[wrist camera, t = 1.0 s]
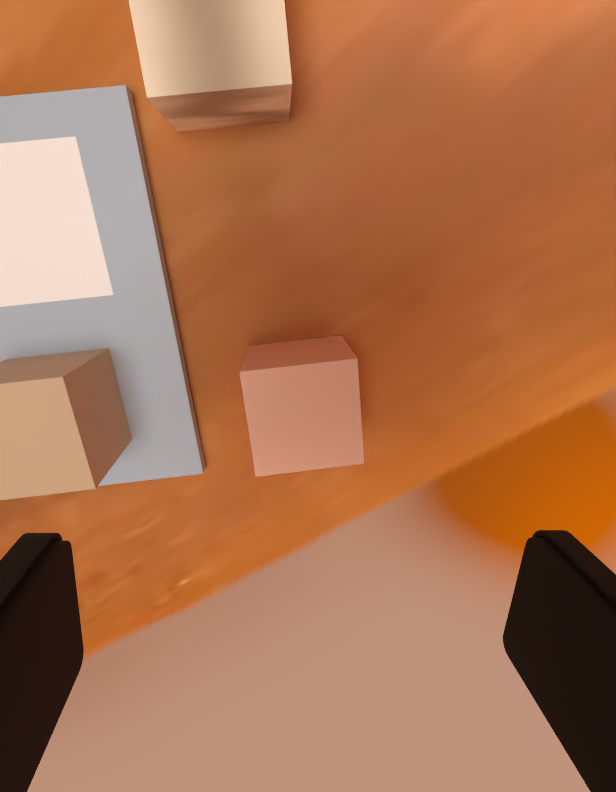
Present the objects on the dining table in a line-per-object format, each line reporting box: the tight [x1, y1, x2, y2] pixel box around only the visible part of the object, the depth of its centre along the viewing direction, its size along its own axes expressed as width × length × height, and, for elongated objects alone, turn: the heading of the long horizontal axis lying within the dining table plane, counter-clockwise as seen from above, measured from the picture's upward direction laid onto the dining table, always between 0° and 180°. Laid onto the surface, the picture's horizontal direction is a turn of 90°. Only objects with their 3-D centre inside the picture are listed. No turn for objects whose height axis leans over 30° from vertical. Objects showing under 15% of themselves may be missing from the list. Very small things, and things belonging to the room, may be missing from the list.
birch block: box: [129, 0, 292, 132], centre depth 20 cm, size 6×6×6 cm
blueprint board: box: [0, 85, 205, 500], centre depth 23 cm, size 14×22×7 cm, turn 6°
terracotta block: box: [239, 335, 364, 477], centre depth 26 cm, size 6×6×6 cm
